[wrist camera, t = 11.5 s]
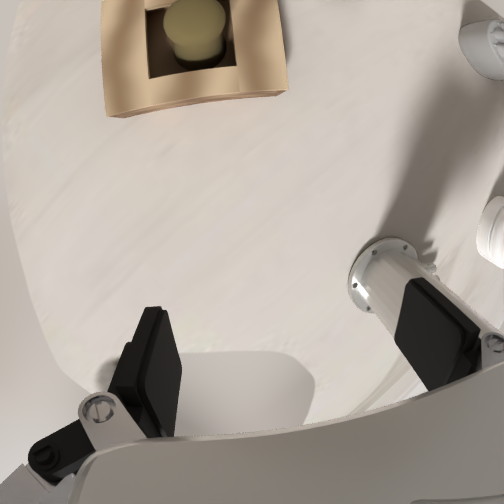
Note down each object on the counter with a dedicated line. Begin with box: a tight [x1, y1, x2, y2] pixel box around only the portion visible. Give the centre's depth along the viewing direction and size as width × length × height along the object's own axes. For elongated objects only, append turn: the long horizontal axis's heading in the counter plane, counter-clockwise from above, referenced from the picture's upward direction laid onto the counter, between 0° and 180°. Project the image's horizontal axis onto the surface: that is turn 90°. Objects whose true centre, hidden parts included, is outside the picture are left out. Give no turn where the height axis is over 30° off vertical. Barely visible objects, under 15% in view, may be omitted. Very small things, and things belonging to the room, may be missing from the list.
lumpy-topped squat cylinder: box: [458, 19, 504, 80], centre depth 24 cm, size 10×13×9 cm
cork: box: [163, 0, 226, 71], centre depth 22 cm, size 6×6×11 cm
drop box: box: [101, 0, 289, 118], centre depth 24 cm, size 18×14×6 cm
